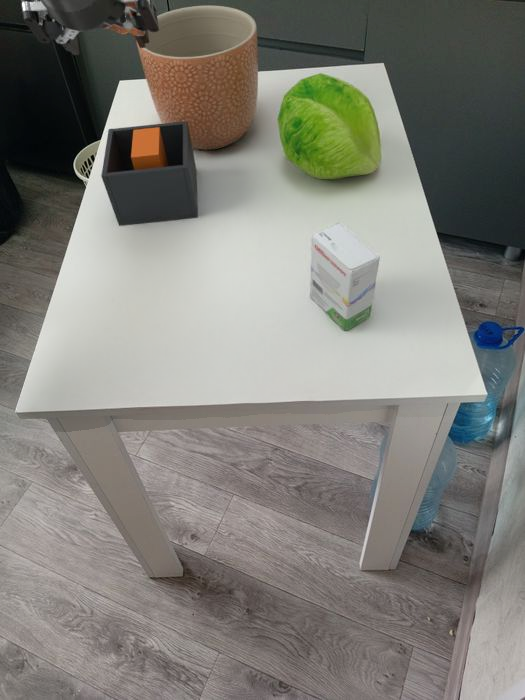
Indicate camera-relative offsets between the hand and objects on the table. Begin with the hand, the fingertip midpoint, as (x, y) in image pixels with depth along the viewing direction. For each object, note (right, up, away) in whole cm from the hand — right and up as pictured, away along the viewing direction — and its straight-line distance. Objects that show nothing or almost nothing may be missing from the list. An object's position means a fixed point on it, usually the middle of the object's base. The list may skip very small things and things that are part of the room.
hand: (108, 43), depth 65 cm
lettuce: (+32, -6, +28) cm, 43 cm away
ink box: (+31, -33, +9) cm, 46 cm away
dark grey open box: (+1, -12, +26) cm, 29 cm away
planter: (+9, +4, +38) cm, 39 cm away
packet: (+1, -11, +25) cm, 28 cm away
